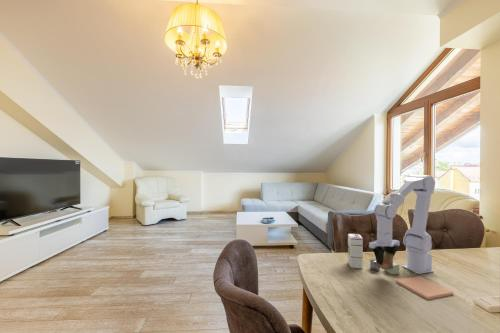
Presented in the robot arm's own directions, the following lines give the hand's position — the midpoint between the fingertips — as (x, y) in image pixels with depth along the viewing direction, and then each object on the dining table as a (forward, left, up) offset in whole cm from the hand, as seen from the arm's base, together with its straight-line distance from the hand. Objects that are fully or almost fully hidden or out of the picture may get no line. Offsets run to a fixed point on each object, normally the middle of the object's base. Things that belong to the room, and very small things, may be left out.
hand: (384, 263), depth 101 cm
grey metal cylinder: (-2, -7, -6) cm, 9 cm away
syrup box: (+4, -13, -6) cm, 15 cm away
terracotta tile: (-7, +12, -6) cm, 15 cm away
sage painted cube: (-7, -3, -6) cm, 10 cm away
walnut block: (0, 0, -2) cm, 2 cm away
